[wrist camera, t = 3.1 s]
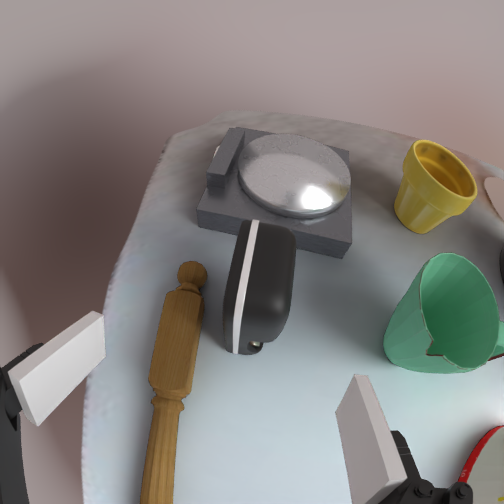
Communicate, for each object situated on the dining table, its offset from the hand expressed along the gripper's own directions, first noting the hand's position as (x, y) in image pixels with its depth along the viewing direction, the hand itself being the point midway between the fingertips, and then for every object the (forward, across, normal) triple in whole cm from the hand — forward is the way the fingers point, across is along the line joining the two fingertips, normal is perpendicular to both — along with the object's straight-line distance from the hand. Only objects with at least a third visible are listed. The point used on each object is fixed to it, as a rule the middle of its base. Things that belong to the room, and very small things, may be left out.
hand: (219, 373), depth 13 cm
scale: (+24, +1, +9) cm, 26 cm away
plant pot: (+25, +20, +10) cm, 34 cm away
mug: (+12, +19, -3) cm, 23 cm away
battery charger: (+12, +1, -3) cm, 13 cm away
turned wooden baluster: (+5, -4, -11) cm, 13 cm away
